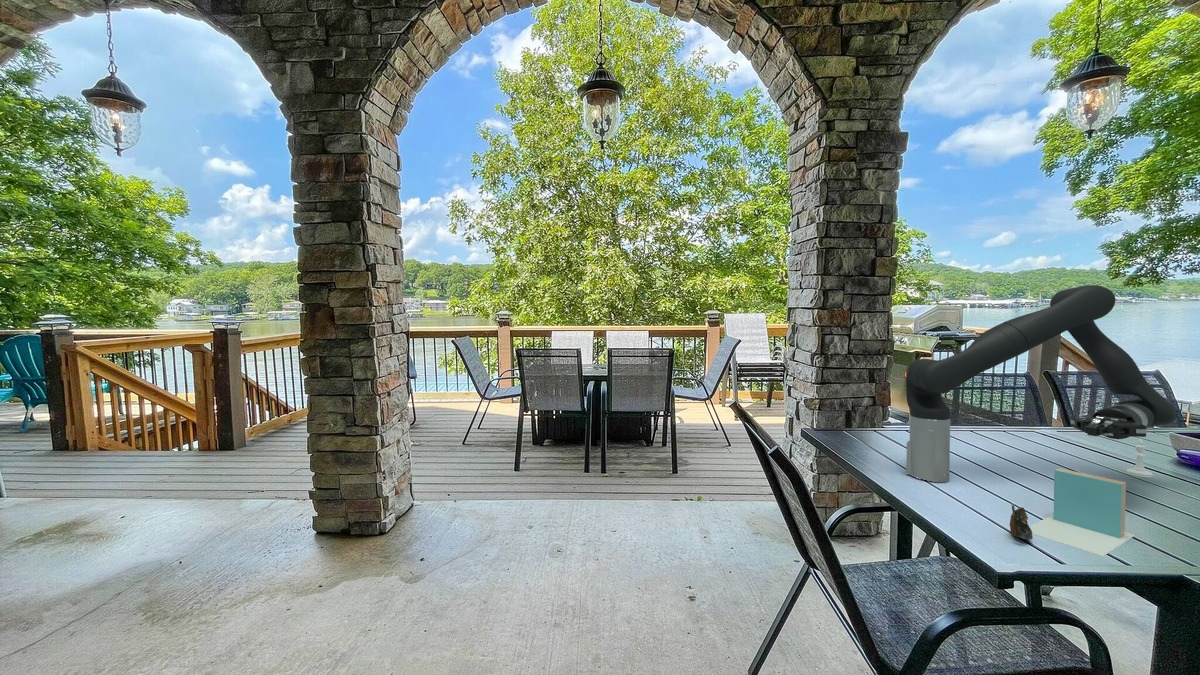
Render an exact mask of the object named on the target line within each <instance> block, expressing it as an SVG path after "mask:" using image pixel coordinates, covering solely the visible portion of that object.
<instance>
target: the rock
mask: <svg viewBox="0 0 1200 675" xmlns="http://www.w3.org/2000/svg"><path fill="white" fill-rule="evenodd" d="M1011 511H1012V514H1011V515H1010V520H1009V530H1010V533H1011V536H1012V537H1017V538H1021V539H1023V540H1033V539H1034V538H1033V534H1032V531H1031V529H1030V527H1029V526H1030V525H1029V524H1028V520H1029V517H1028V514H1027V513H1026V512H1027V511H1026V509H1025V508H1024V507H1018V508H1017V509H1015V505H1014V503H1013V502H1011Z"/></svg>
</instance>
